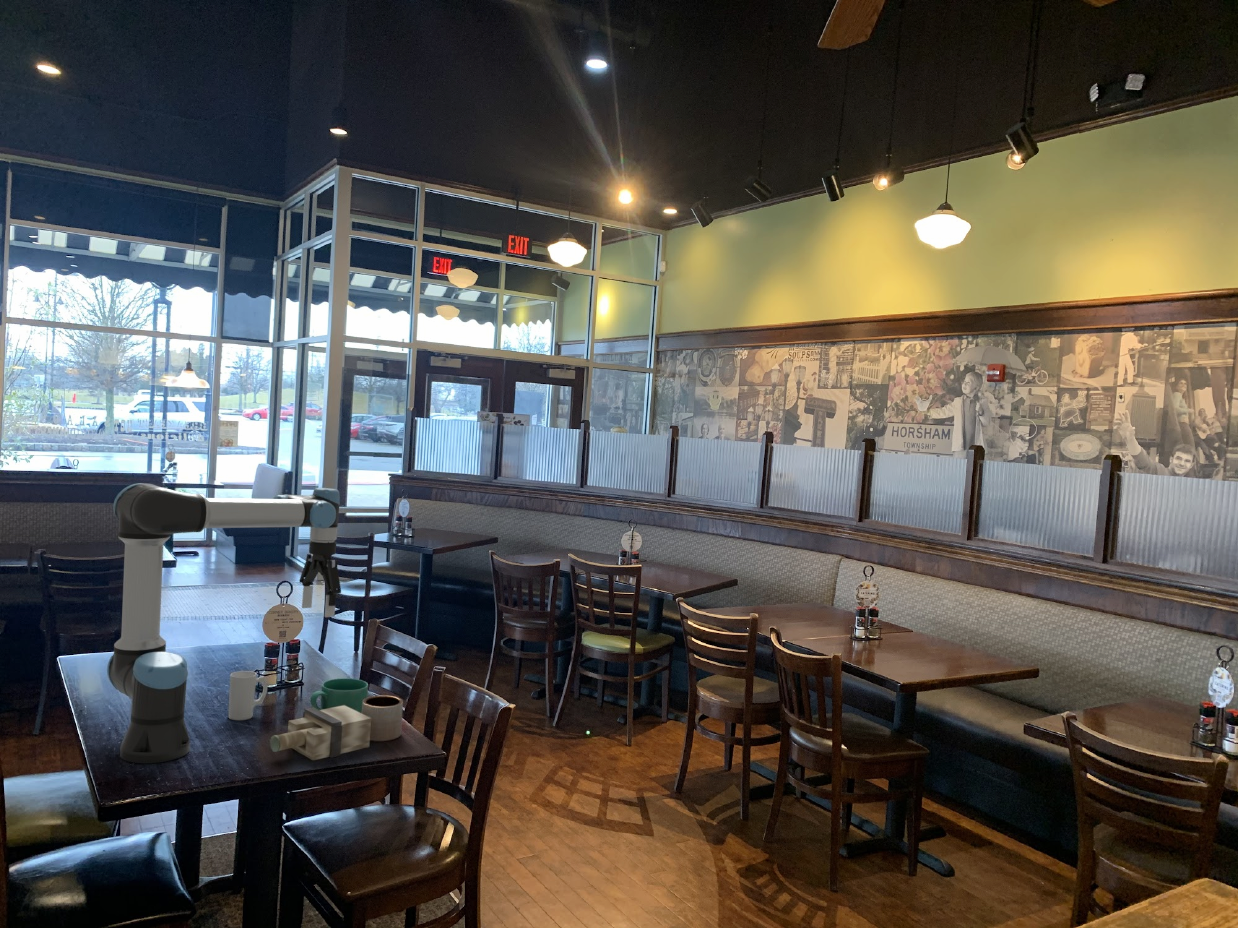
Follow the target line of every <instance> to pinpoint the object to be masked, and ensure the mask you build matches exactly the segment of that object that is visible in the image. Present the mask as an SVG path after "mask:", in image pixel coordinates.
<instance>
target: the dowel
mask: <svg viewBox="0 0 1238 928" xmlns="http://www.w3.org/2000/svg"><path fill="white" fill-rule="evenodd" d="M318 728H323V727H322V726H318V727H313V728H308V729H304V730H299V731H294V732H289V733H288V732H286V733H281V734H280V733H279V734H275V735H272V736H271V737H270V740H269V742H270V743H269V746H270V750H271V751H272V752H274V753H276V752H279V751H284V750H287V749H288V750H289V749H292V748H293V747H298V746H302V745H306V737H307V731H309V730H313V729H318Z"/></svg>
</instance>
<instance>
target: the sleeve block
mask: <svg viewBox="0 0 1238 928" xmlns="http://www.w3.org/2000/svg"><path fill="white" fill-rule="evenodd" d="M287 723H288V725H287V733H289V732H294V731H299V730H304V729H308V728H313V727H318V726H322V727H323V728H318V729H313V730H309V731H307V737H306V745H302V746H298V747H293V748H291V749H293V750H295V751H296V752H298V754H301V755H303V756H305V757H306V758H308V759H309V760H311V761H317V760H321V759H325V758H329V757H330V758H332V759H333V758H336V757H341V755H342V754H346V753H350V752H354V751H357V750H362V749H365V748H369V747H370V742H371V741H370V729H371V718H370V717H368V716H366V715H364V714H362V713H359V712H357V711H355V710H353V709H351V708H349V707H347V706H345V705H343V706H338V707H333V708H328V709H323V710H318V709H316V708H314V707H313V706H312V707H311V706H310V707H307V708H304V710H303V712H302V717H301V718H296V719H291V720H288V722H287Z"/></svg>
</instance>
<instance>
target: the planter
mask: <svg viewBox="0 0 1238 928" xmlns="http://www.w3.org/2000/svg"><path fill="white" fill-rule="evenodd" d="M403 704H404V700H403V699H402V698H400V697H398V696H395V695H394V696H393V695H386V694H380V695H379V694H378V695H372V696H369V697H368V696H367V698H365V699H364V700H363V702H362V714H364V715H366V716H368V717H370V718H371V729H370V742H377V743H382V742H383V743H384V741H386V742H390V741H394V740H396V739H397V738H399V737H401V734H402V725H403V709H404V705H403Z"/></svg>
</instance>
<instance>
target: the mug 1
mask: <svg viewBox="0 0 1238 928" xmlns="http://www.w3.org/2000/svg"><path fill="white" fill-rule="evenodd" d="M258 683H260V684H261V685H262V687H263V688H262V689H263V690H262V693H261V696H259V698H258V699H255V697H256V696H255V695H256V685H257V684H258ZM267 693H268V684H267V681H266V679H265V676H264V675H261V676H259V677H257V672H255V671H251V670H239V671H234V672H231V673H230V677H229V693H228V694H229V696H228V715H227V716H228V718H229V719H230V720H233V721H246V720H250V719H251V718H253V717H254V716H253V714H254V708H255V707H256V706H261V705H262V704H263V702H264V700H265V698H266V696H267Z"/></svg>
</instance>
